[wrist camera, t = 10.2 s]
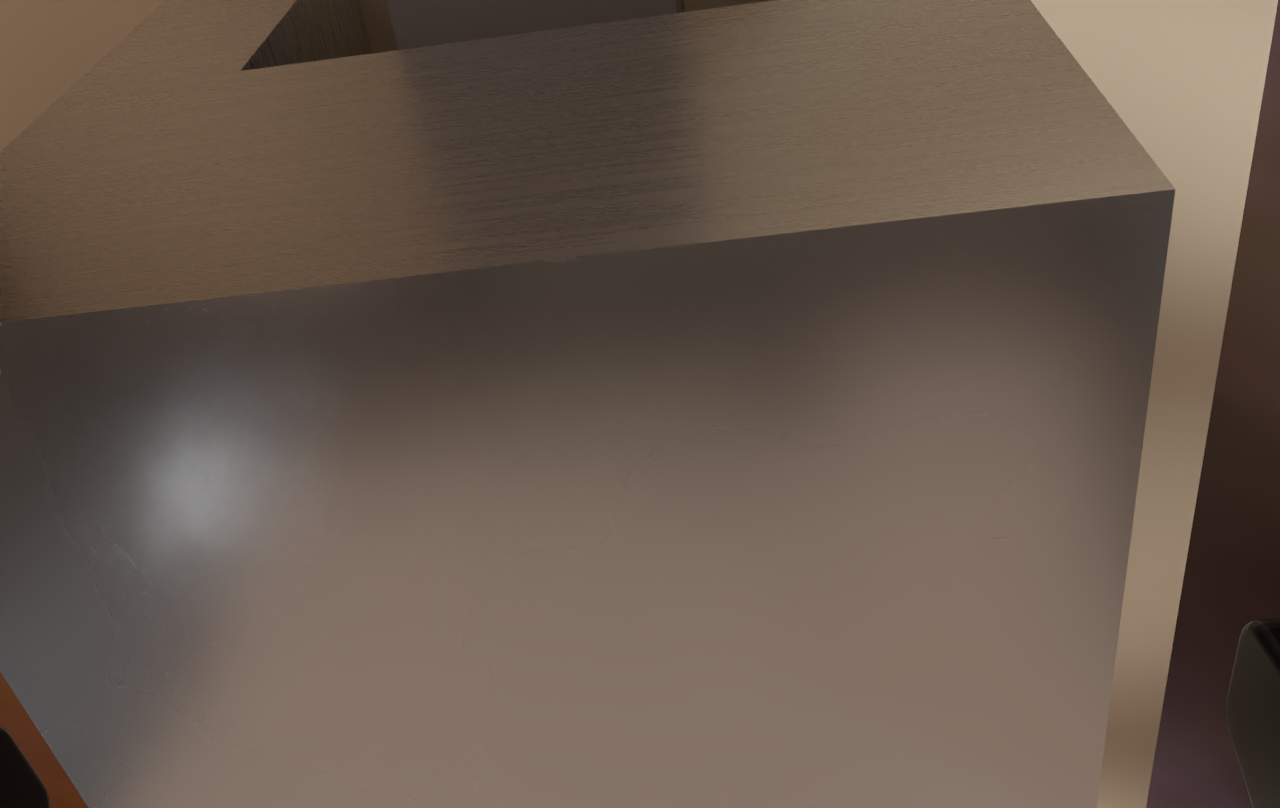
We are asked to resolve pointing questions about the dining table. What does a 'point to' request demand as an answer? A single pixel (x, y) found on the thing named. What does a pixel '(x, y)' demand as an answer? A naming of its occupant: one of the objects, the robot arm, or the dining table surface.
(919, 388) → the saddle block
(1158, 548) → the rail board
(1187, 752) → the dining table surface
